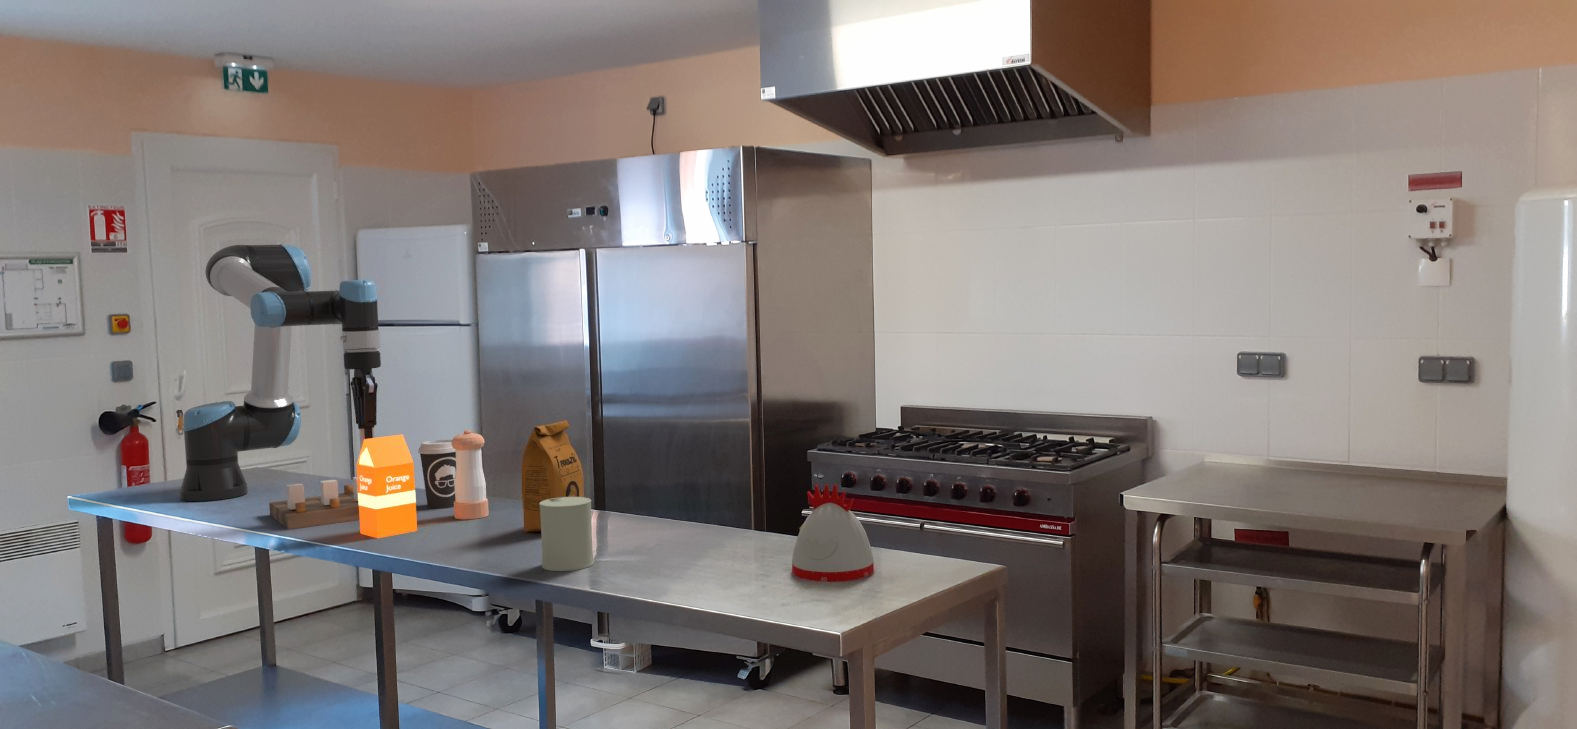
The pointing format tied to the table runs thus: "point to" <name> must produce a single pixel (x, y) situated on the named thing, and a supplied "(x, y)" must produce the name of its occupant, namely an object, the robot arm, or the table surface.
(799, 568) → the kitchen timer
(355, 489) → the switch
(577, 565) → the can
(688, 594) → the table surface
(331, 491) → the switch
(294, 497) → the switch
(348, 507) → the switch unit
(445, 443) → the coffee cup
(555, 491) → the coffee package
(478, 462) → the pepper shaker
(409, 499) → the orange juice
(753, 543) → the table surface
